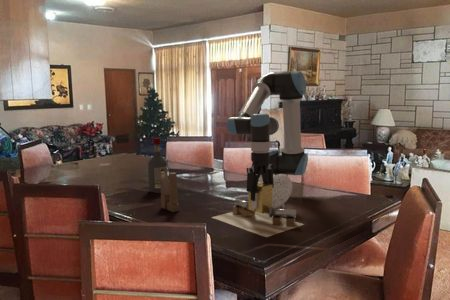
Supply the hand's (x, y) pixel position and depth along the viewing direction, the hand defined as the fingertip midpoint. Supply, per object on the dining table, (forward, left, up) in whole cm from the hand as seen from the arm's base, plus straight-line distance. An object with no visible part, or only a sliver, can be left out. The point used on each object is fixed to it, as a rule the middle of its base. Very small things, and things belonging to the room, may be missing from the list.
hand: (260, 206), depth 166 cm
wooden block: (+18, -42, -7) cm, 46 cm away
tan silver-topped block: (0, -11, -6) cm, 12 cm away
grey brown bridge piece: (-3, +10, -6) cm, 12 cm away
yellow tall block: (0, 0, -2) cm, 2 cm away
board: (+2, -1, -7) cm, 7 cm away
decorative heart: (-18, -9, -7) cm, 21 cm away
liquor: (+3, -78, -7) cm, 78 cm away
